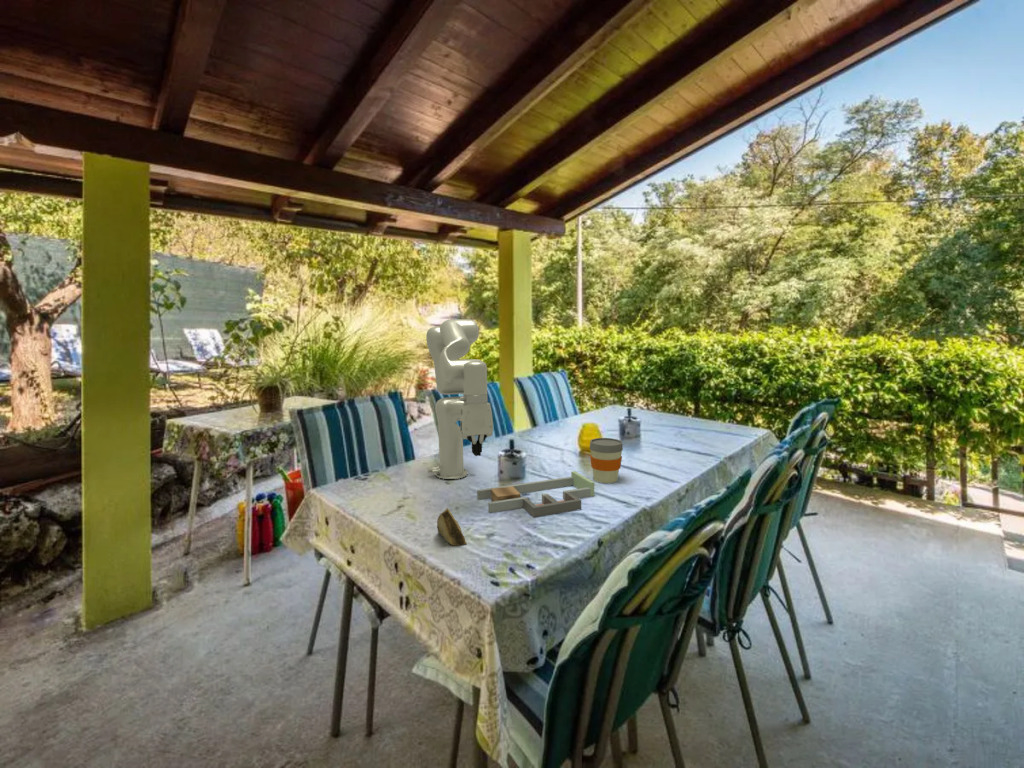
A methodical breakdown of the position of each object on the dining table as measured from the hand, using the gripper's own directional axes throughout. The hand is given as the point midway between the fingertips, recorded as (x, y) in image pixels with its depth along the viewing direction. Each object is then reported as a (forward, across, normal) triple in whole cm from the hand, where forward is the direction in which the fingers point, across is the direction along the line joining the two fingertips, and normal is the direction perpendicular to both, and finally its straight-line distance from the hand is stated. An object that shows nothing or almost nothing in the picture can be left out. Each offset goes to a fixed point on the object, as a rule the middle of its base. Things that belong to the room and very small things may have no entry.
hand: (476, 454), depth 155 cm
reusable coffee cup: (+18, +54, +8) cm, 57 cm away
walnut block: (+18, +10, 0) cm, 21 cm away
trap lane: (+18, +21, -4) cm, 28 cm away
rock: (+18, -14, -19) cm, 30 cm away
